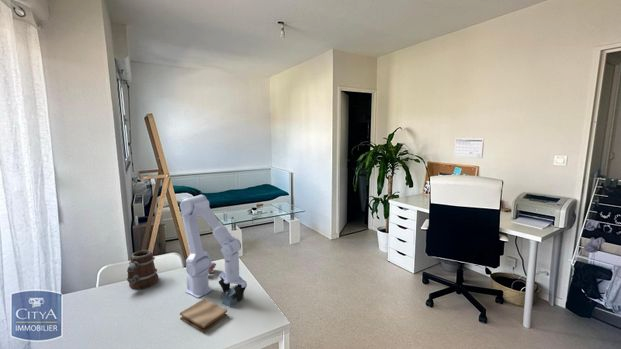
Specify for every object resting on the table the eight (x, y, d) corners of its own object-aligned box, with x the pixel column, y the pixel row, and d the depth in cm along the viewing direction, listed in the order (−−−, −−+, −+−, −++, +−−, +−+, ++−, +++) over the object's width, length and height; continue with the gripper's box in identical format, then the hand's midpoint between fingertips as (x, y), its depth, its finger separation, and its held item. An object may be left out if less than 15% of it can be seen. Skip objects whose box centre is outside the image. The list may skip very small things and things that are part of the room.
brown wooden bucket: (140, 276, 140) (137, 247, 138) (163, 277, 139) (161, 248, 137) (116, 294, 124) (113, 262, 122) (143, 295, 124) (140, 263, 122)
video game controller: (203, 282, 137) (208, 271, 136) (195, 277, 138) (200, 266, 136) (214, 272, 147) (219, 262, 145) (206, 268, 147) (211, 257, 146)
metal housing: (222, 304, 118) (221, 291, 117) (236, 295, 124) (236, 283, 123) (229, 307, 115) (229, 295, 114) (244, 298, 122) (243, 286, 121)
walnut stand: (180, 319, 107) (179, 312, 107) (204, 304, 117) (204, 298, 116) (203, 333, 100) (203, 326, 100) (227, 316, 109) (227, 309, 109)
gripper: (212, 267, 118) (214, 297, 120) (237, 276, 110) (238, 308, 112) (225, 261, 124) (227, 289, 126) (249, 269, 116) (250, 299, 118)
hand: (233, 297), depth 119 cm, fingers open, 7 cm apart
